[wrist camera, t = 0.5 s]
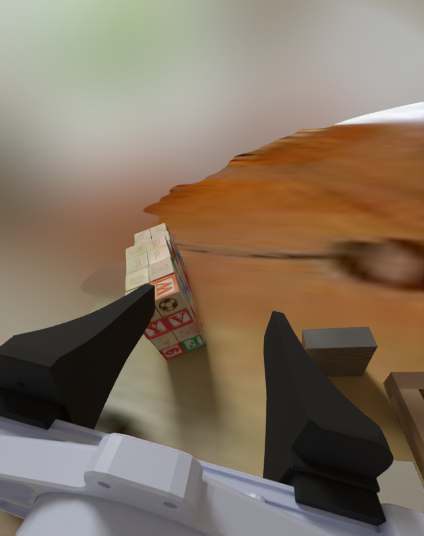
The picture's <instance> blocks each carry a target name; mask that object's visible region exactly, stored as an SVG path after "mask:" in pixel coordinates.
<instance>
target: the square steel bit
mask: <svg viewBox="0 0 424 536" xmlns="http://www.w3.org/2000/svg"><path fill="white" fill-rule="evenodd" d="M377 481H378V484H379V487H380V492H379V493H377V495H378V498H379V501H380V504H382V503H389V504H394V505H398V506H401V507H405V508H408V509H412V510H416V511H419V512H421V513H423V514H424V488H423V486H422V483H421V481H420V478H419V476H418V474H417V471H416V469H415V466H414V464H413V462H406V461H393V463H392V465H391V466H390V467H389V468H388V469H387V470H386V471H385V472H383V473H382V474H381V475H380V476H378V477H377Z"/></svg>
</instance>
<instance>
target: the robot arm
mask: <svg viewBox="0 0 424 536" xmlns="http://www.w3.org/2000/svg"><path fill="white" fill-rule="evenodd" d="M154 312H155V285H150V284H144V285H142V286H140V287H139V288H137V289H136V290H134V291H132V292H131V293H129V294H127V295H125V296H124V297H122V298H120V299H119V300H117V301H115V302H113V303H111V304H109V305H107V306H105V307H103V308H101V309H99V310H97V311H95V312H92V313H90V314H88V315H85V316H83V317H80V318H77V319H74V320H72V321H69V322H66V323H63V324H60V325H56V326H53V327H49V328H45V329H41V330H37V331H33V332H28V333H23V334H19V335H14V336H13V337H12V338H10V339H9V340H8V341H6V342H5V343H4V344H3V345H1V346H0V509H1V510H3V511H6V512H8V513H10V514H13V515H15V516H18V517H20V518H23V519H25V520H24V521H23V523H22V525H21V526H20V528H19V529H18V531H17V533H16V534H15V536H424V514H423V513H421V512H419V511H416V510H412V509H408V508H405V507H401V506H398V505H394V504H389V503H382V504H380V501H379V498H378V495H377V493H379V492H380V487H379V484H378V481H377V477H378V476H380V475H381V474H382V473H383V472H385V471H386V470H387V469H388V468H389V467H390V466H391V465H392V463H393V459H394V458H393V455H392V453H391V450H390V448H389V445H388V443H387V441H386V438H385V436H384V434H383V432H382V430H381V428H380V427H379V426H378V425H377V424H376V423H374V422H373V421H372V420H371V419H370V418H368V417H367V416H366V415H365V414H364V413H363V412H361V411H360V410H359V409H358V408H357V407H356V406H355V405H354V404H352V403H351V402H350V401H349V400H348V399H347V398H346V397H345V396H344V395H343V394H342V393H341V392H340V391H339V390H338V389H337V388H336V387H335V386H334V385H333V384H332V383H331V382H330V380H329V379H328V378H327V377H326V376H325V375H324V374H323V373H322V371H321V370H320V369H319V368H318V366H317V365H316V364H315V363H314V361H313V360H312V359H311V358H310V356H309V355H308V353H307V352H306V350H305V349H304V347H303V346H302V344H301V343H300V341H299V339H298V338H297V336H296V335H295V333H294V331H293V329H292V328H291V326H290V324H289V322H288V320H287V319H286V317H285V315H284V313H280V312H276V311H273V312H272V315H271V318H270V321H269V324H268V326H267V329H266V332H265V335H264V366H265V379H266V394H267V402H266V436H265V456H264V471H263V478H261V477H257V476H254V475H250V474H247V473H243V472H240V471H236V470H233V469H229V468H226V467H222V466H219V465H215V464H212V463H208V462H205V461H201V460H198V459H196V458H195V457H193V456H192V455H190V454H188V453H185V452H183V451H181V450H177V449H174V448H170V447H167V446H163V445H160V444H156V443H153V442H149V441H146V440H142V439H139V438H135V437H132V436H128V435H124V434H118V433H112V434H106V433H103V432H99V431H96V430H94V428H95V426H96V423H97V421H98V419H99V416H100V414H101V412H102V410H103V407H104V405H105V403H106V401H107V399H108V396H109V394H110V392H111V390H112V388H113V386H114V384H115V382H116V380H117V378H118V376H119V374H120V372H121V370H122V368H123V366H124V364H125V362H126V360H127V358H128V357H129V355H130V353H131V352H132V350H133V349H134V347H135V346H136V344H137V343H138V341H139V339H140V338H141V336H142V335H143V333H144V332H145V330H146V328H147V327H148V325H149V323H150V321H151V319H152V317H153V315H154Z"/></svg>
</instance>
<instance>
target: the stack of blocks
mask: <svg viewBox="0 0 424 536" xmlns="http://www.w3.org/2000/svg"><path fill="white" fill-rule="evenodd" d="M134 237H135V246H133V247H130V248H127V249H126V261H127V262H126V274H127V275H126V293H125V295H127V294H129V293H131V292H132V291H134V290H136V289H137V288H139V287H140V286H142V285H144V284H150V285H155V312H154V315H153V317H152V319H151V321H150V323H149V325H148V327H147V328H146V330H145V332H144V333H143V334H144V335H145V337H146V338H147V339H148V340H150V341H151V343H152V344H153V345H154V346H155V347H156V348H157V349H158V351H159V352H160V353H161V354H162V355H163V357H164V358H165V359H166V360H168V359H171V358H173V357H176V356H178V355H181V354H183V353H186V352H187V351H190V350H192V349H195V348H198V347H200V346H203V345H205V344H206V341H205V338H204V334H203V331H202V325H201V322H200V318H199V315H198V311H197V307H196V304H195V300H194V298H193V296H192V292H191V289H190V286H189V283H188V280H187V274H186V270H185V267H184V264H183V261H182V258H181V256H180V253H179V251H178V249H177V247H176V244H175V242H174V240H173V238H172V236H171V235H170V233H169V231H168V229H167V226H166V224H165V223H163V224H161V225H158V226H155V227H152V228H150V229H148V230H146V231H143V232H140V233H137V234H135V235H134Z"/></svg>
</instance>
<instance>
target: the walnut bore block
mask: <svg viewBox="0 0 424 536" xmlns="http://www.w3.org/2000/svg"><path fill="white" fill-rule="evenodd" d="M383 384H384V387H385V389H386V391H387V394H388V396H389V399H390V401H391V403H392V406H393V408H394V410H395V413H396V415H397V417H398V420H399V422H400V425H401V427H402V429H403V432H404V434H405V436H406V439H407V441H408V443H409V446H410V448H411V450H412V453H413V455H414V458H415V460H416V462H417V465H418V467H419V469H420V472H421V474H422V476H423V479H424V372H391V373H390V375H389V376H388V377H387V379H386V380H385V381H384V383H383Z"/></svg>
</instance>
